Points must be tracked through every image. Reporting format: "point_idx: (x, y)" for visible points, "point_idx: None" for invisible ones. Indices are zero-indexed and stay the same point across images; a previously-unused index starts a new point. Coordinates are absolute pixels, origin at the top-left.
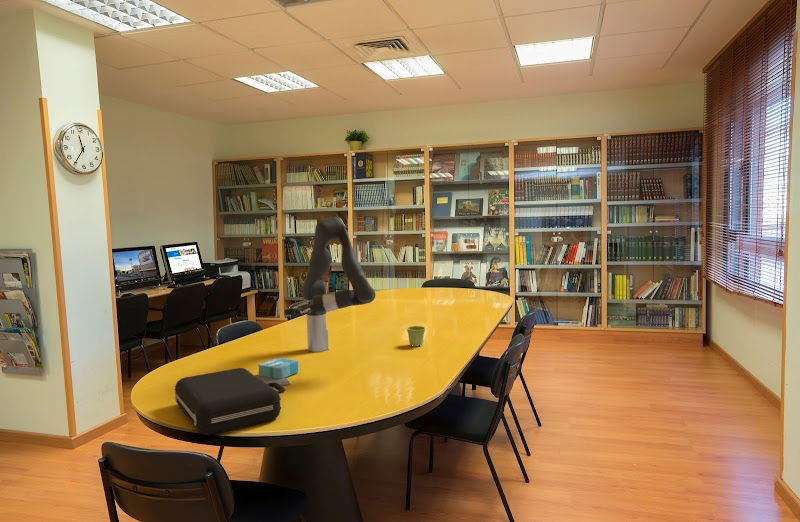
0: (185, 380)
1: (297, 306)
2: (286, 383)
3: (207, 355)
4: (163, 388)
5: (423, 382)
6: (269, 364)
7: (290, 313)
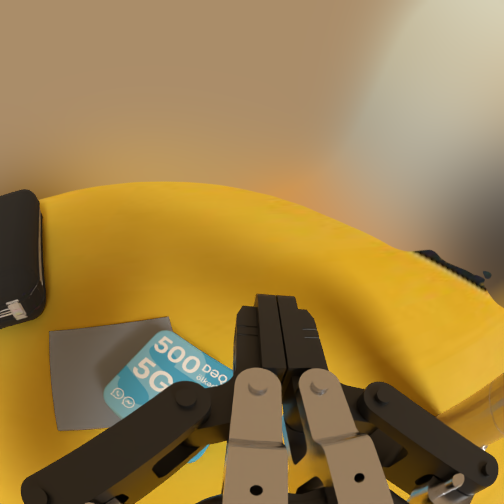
0: (6, 195)
1: (308, 420)
2: (63, 419)
3: (348, 237)
4: (142, 200)
5: None
6: (156, 362)
7: (233, 365)
